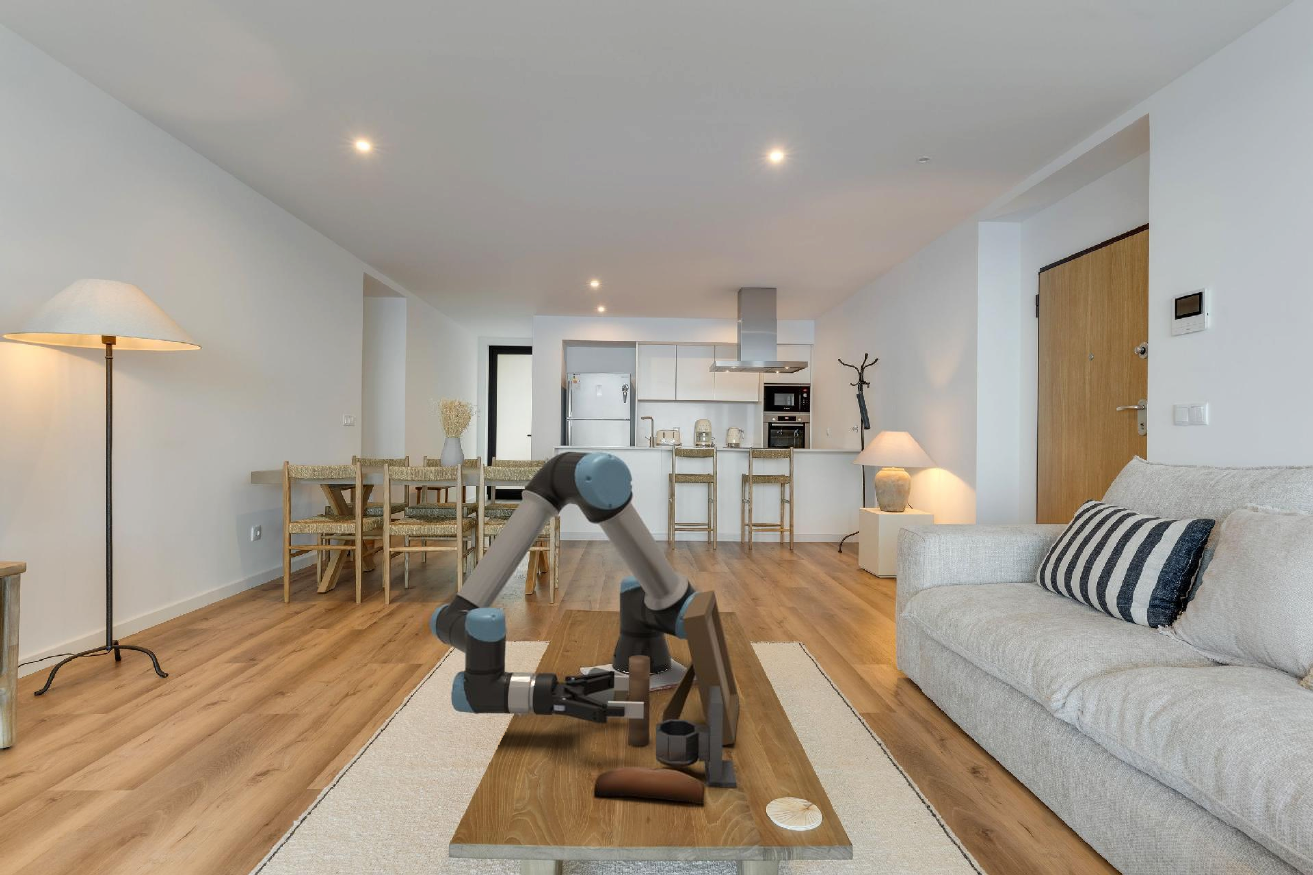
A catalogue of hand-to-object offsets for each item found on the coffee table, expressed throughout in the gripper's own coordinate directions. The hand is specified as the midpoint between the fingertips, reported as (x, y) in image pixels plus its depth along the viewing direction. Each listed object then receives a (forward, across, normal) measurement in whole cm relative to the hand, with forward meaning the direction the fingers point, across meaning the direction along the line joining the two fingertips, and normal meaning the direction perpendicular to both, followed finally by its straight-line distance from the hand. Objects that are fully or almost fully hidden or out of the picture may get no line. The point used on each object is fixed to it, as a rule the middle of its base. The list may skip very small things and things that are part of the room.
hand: (645, 696), depth 131 cm
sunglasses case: (+2, +17, -10) cm, 20 cm away
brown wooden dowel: (-1, 0, -9) cm, 9 cm away
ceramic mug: (-9, -20, -9) cm, 23 cm away
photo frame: (+11, -10, -9) cm, 18 cm away
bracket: (+9, +12, -9) cm, 18 cm away
